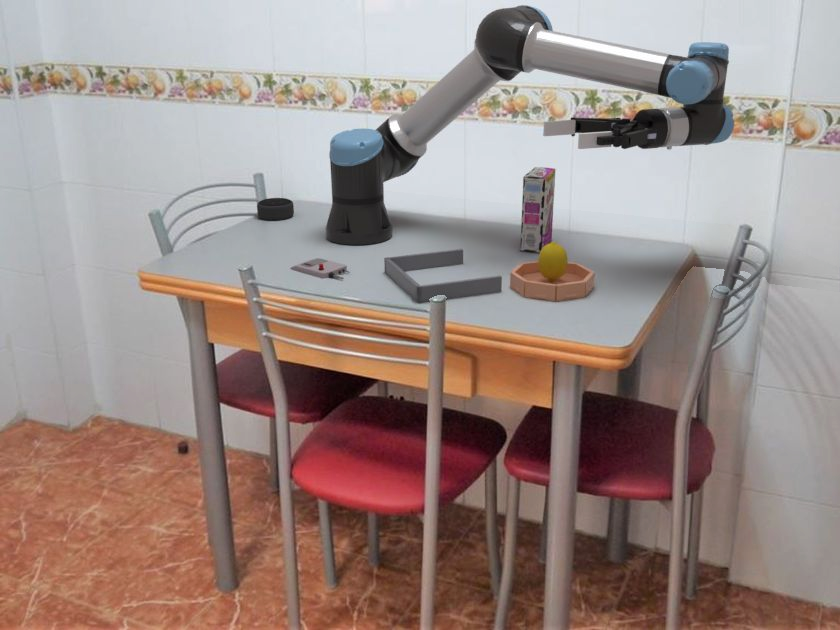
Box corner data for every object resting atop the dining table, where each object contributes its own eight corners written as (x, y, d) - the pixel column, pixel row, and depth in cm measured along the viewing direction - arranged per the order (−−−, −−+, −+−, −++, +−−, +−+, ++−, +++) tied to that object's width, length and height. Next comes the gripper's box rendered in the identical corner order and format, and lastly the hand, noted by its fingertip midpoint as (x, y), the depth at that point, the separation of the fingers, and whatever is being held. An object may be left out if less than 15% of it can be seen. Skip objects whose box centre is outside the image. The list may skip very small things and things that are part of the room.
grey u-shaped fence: (384, 272, 187) (384, 257, 186) (461, 262, 193) (461, 248, 192) (417, 302, 170) (417, 287, 169) (501, 291, 175) (501, 276, 174)
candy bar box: (542, 254, 198) (545, 178, 192) (519, 251, 199) (521, 176, 194) (553, 240, 208) (556, 167, 202) (531, 238, 209) (533, 165, 203)
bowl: (499, 280, 182) (499, 265, 181) (567, 271, 186) (568, 256, 185) (534, 304, 169) (534, 289, 167) (606, 294, 173) (607, 279, 172)
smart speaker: (264, 212, 234) (263, 196, 233) (298, 213, 233) (297, 197, 232) (252, 221, 226) (251, 205, 225) (288, 222, 225) (287, 206, 223)
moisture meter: (307, 262, 196) (307, 248, 195) (361, 276, 187) (361, 262, 185) (284, 270, 191) (283, 256, 190) (338, 285, 182) (337, 270, 181)
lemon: (568, 286, 175) (570, 245, 172) (538, 286, 175) (540, 245, 172) (564, 277, 180) (566, 237, 177) (535, 277, 180) (537, 237, 177)
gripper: (695, 159, 171) (593, 168, 164) (622, 136, 192) (530, 143, 186) (699, 118, 168) (596, 125, 161) (625, 99, 190) (532, 105, 183)
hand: (561, 134), depth 173 cm, fingers open, 13 cm apart
